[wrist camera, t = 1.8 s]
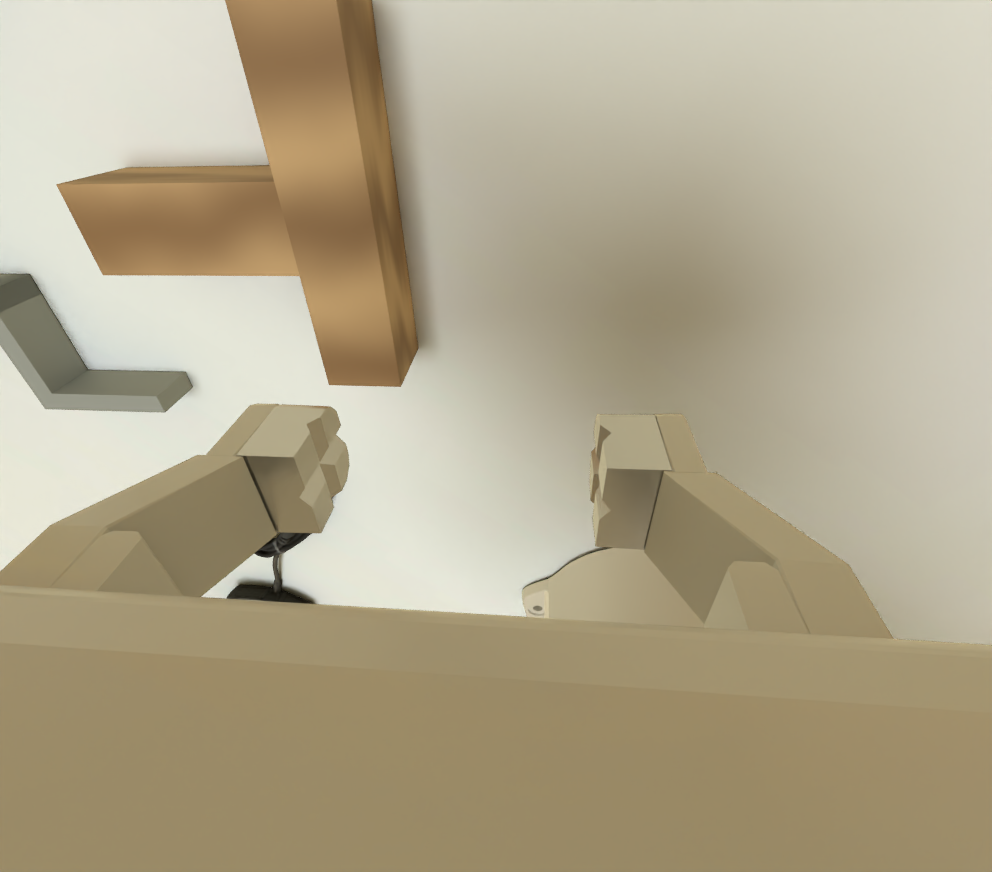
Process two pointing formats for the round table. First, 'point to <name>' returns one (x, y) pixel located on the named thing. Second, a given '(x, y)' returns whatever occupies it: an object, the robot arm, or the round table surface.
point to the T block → (284, 191)
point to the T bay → (72, 360)
